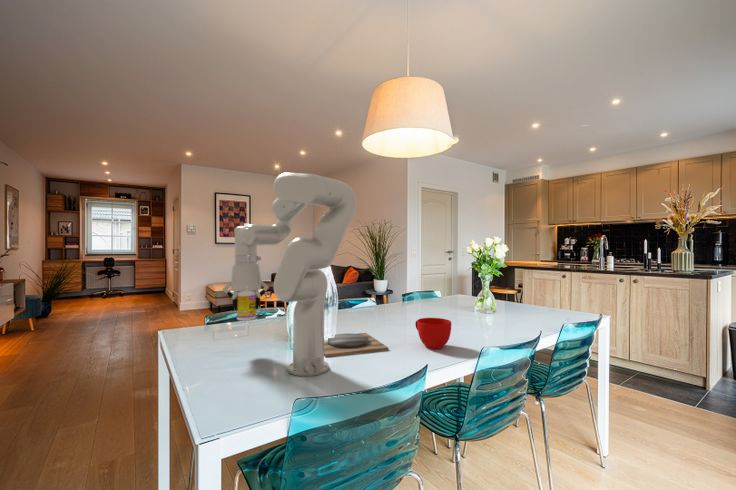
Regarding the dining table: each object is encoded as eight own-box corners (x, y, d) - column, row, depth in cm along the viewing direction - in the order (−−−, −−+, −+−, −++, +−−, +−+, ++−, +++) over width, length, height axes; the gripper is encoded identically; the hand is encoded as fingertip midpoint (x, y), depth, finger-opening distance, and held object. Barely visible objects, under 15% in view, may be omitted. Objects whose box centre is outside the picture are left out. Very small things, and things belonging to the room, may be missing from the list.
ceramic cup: (427, 338, 147) (427, 314, 147) (458, 348, 133) (458, 322, 133) (403, 343, 140) (403, 318, 140) (433, 354, 126) (433, 326, 126)
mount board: (388, 350, 130) (388, 343, 130) (325, 357, 121) (325, 350, 121) (365, 335, 152) (365, 329, 152) (311, 340, 144) (311, 334, 144)
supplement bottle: (250, 321, 123) (249, 284, 123) (233, 320, 124) (232, 284, 124) (259, 317, 129) (259, 283, 129) (243, 317, 130) (243, 283, 131)
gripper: (269, 259, 134) (270, 306, 133) (220, 260, 127) (221, 309, 127) (271, 259, 127) (272, 308, 126) (219, 260, 120) (220, 312, 120)
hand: (246, 308), depth 127 cm, fingers closed on supplement bottle, 6 cm apart
